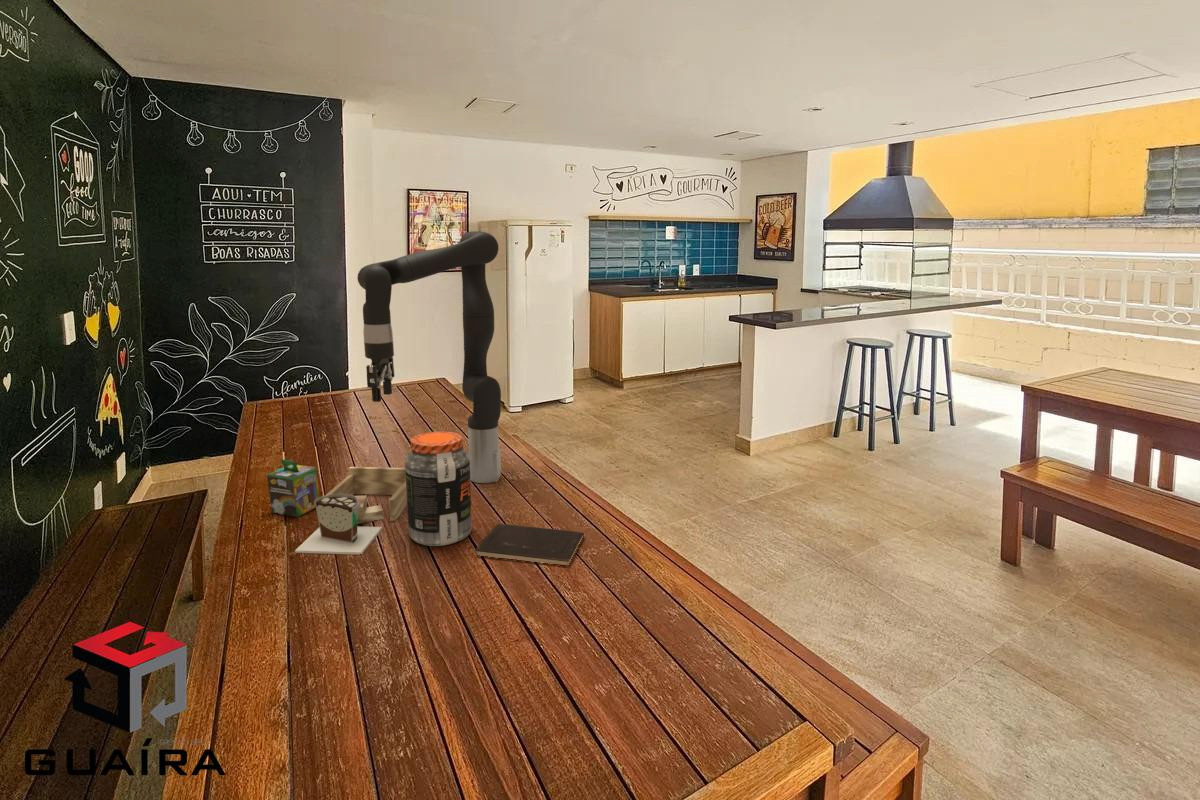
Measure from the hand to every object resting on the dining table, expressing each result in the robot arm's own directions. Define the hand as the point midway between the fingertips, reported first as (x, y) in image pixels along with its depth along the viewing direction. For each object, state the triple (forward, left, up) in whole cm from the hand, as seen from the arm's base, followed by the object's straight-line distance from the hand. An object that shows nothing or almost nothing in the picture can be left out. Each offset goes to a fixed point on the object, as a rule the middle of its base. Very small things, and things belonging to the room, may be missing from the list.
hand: (382, 397), depth 183 cm
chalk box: (+23, +9, -30) cm, 39 cm away
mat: (+3, +27, -30) cm, 41 cm away
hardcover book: (-45, +27, -31) cm, 61 cm away
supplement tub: (-21, +22, -30) cm, 43 cm away
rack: (+3, +5, -30) cm, 31 cm away
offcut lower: (+3, +15, -31) cm, 34 cm away
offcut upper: (+3, +15, -28) cm, 32 cm away
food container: (+2, +25, -30) cm, 39 cm away
